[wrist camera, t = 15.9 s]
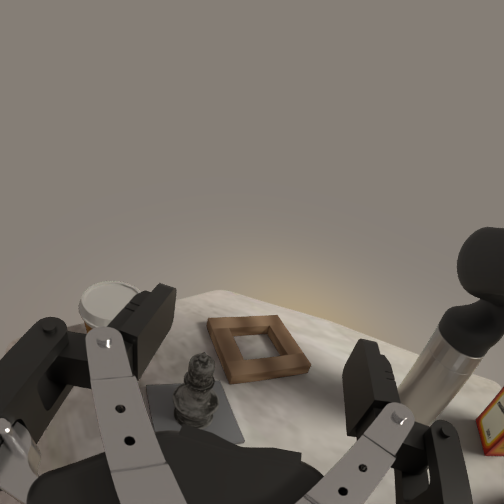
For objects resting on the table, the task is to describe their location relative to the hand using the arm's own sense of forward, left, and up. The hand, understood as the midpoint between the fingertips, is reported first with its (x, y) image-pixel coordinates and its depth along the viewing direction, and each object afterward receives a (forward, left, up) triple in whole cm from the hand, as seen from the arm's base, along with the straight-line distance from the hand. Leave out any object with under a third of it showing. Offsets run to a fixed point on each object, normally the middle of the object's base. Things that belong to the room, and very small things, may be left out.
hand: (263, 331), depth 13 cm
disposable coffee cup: (+7, -25, -28) cm, 38 cm away
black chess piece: (-3, -14, -28) cm, 31 cm away
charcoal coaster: (-3, -14, -28) cm, 32 cm away
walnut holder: (-17, -26, -28) cm, 42 cm away
